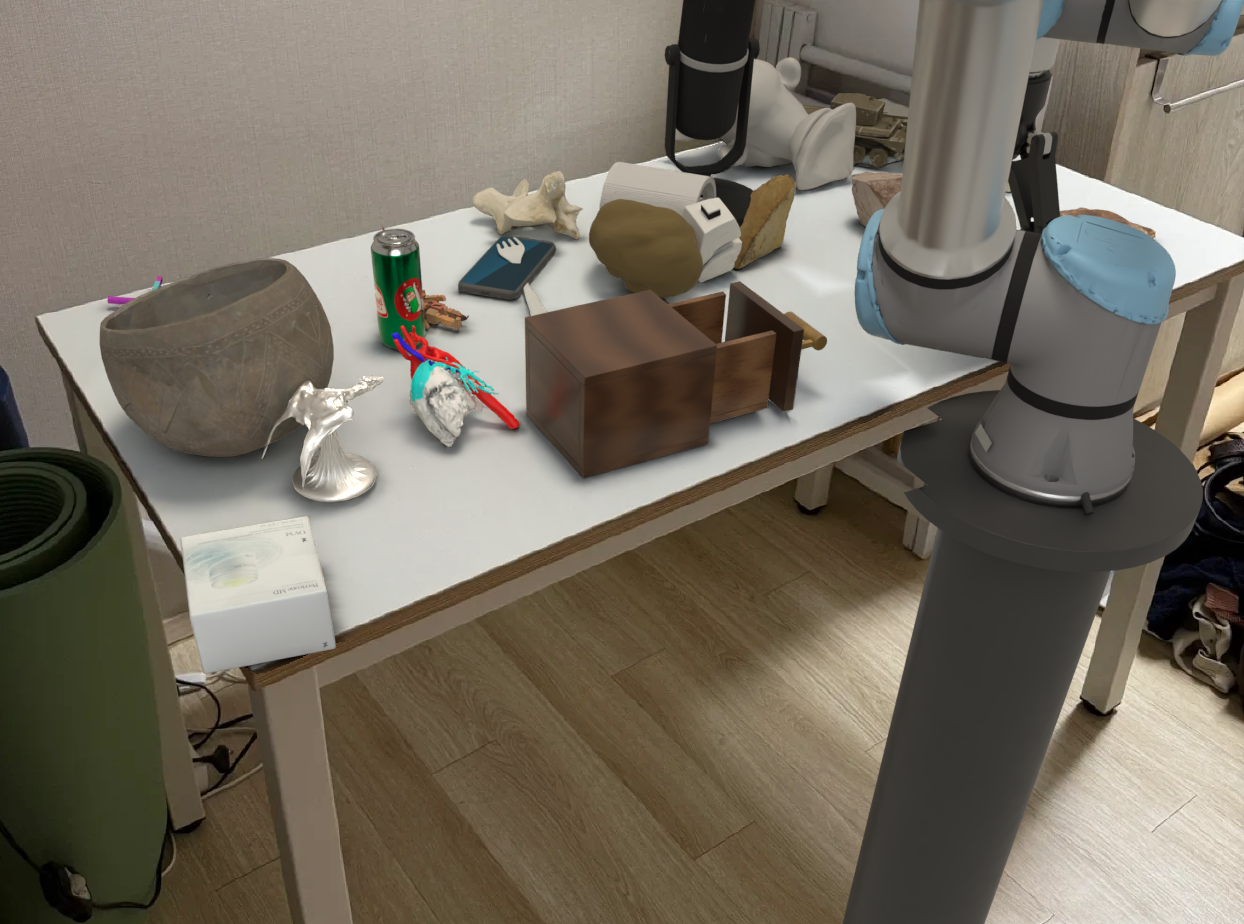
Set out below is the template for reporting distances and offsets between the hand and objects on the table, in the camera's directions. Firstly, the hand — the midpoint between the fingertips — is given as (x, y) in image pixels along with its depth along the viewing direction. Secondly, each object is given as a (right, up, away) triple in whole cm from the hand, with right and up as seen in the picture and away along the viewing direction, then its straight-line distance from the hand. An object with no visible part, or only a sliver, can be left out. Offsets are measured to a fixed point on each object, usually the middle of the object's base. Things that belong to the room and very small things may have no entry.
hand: (971, 262), depth 143 cm
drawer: (-29, -17, -13) cm, 35 cm away
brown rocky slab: (+21, +8, +19) cm, 29 cm away
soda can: (-64, -10, -3) cm, 65 cm away
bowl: (-76, -23, -20) cm, 82 cm away
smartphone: (-53, +2, +11) cm, 54 cm away
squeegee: (-98, -5, +1) cm, 98 cm away
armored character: (-57, -4, -5) cm, 57 cm away
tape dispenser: (-28, +2, +11) cm, 30 cm away
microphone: (-28, +14, +25) cm, 40 cm away
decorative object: (-48, +7, +16) cm, 51 cm away
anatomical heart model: (-58, -20, -15) cm, 63 cm away
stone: (-4, +9, +19) cm, 22 cm away
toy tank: (-5, +27, +42) cm, 50 cm away
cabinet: (-41, -21, -17) cm, 49 cm away
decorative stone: (-39, -1, +5) cm, 40 cm away
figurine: (-67, -27, -24) cm, 76 cm away
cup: (-40, +12, +16) cm, 45 cm away
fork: (-51, +1, +7) cm, 51 cm away
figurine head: (-7, +21, +30) cm, 37 cm away
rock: (-23, +5, +15) cm, 28 cm away
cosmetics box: (-72, -35, -38) cm, 88 cm away
